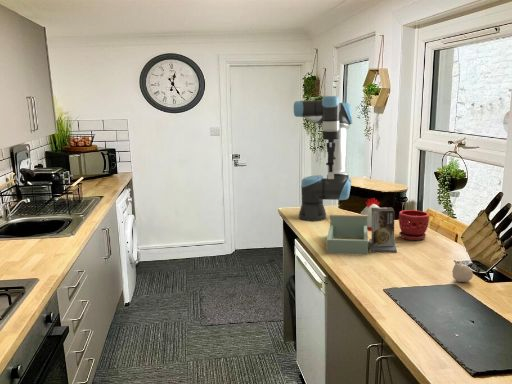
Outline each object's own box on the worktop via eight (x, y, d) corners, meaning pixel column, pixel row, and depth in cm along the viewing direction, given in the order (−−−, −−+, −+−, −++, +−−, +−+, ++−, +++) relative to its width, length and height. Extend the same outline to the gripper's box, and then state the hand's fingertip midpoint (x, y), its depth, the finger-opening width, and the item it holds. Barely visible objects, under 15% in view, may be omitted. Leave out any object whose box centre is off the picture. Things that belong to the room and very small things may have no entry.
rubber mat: (369, 241, 209) (369, 238, 208) (394, 241, 206) (394, 239, 206) (369, 251, 194) (369, 249, 194) (396, 252, 192) (396, 250, 192)
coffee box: (391, 242, 203) (392, 207, 199) (394, 246, 196) (395, 210, 193) (370, 242, 204) (371, 207, 201) (372, 246, 198) (373, 210, 194)
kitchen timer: (353, 225, 235) (353, 197, 232) (374, 221, 241) (374, 194, 238) (370, 232, 223) (370, 202, 220) (392, 227, 228) (393, 198, 225)
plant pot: (423, 243, 202) (424, 217, 200) (394, 239, 210) (394, 213, 208) (431, 236, 212) (433, 211, 210) (404, 232, 220) (404, 208, 218)
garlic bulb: (455, 276, 165) (456, 255, 163) (474, 280, 161) (475, 259, 159) (449, 282, 160) (450, 261, 158) (469, 286, 156) (470, 264, 154)
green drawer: (330, 235, 219) (329, 214, 216) (367, 236, 215) (367, 214, 212) (326, 253, 195) (326, 228, 192) (368, 254, 191) (368, 230, 188)
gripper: (323, 128, 220) (324, 171, 225) (321, 133, 196) (321, 181, 201) (339, 127, 219) (339, 171, 223) (339, 132, 195) (339, 181, 199)
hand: (331, 176), depth 212 cm, fingers open, 13 cm apart
